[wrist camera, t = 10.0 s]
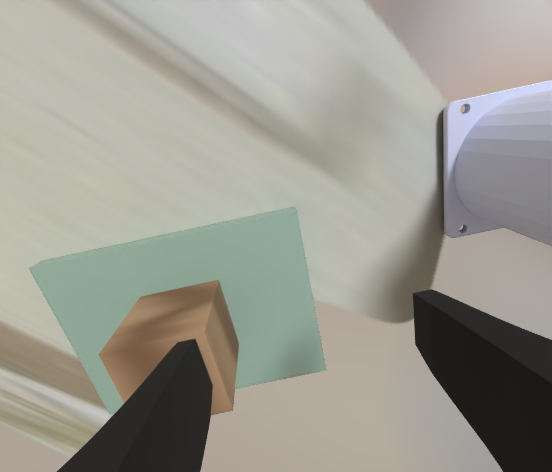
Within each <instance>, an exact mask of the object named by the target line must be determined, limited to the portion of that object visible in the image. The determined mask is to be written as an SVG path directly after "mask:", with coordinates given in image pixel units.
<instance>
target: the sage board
mask: <svg viewBox="0 0 552 472" xmlns="http://www.w3.org/2000/svg"><path fill="white" fill-rule="evenodd" d="M29 270H30V272H31V273H32V275H33V277H34V279H35V281H36V282H37V284H38V286H39V288H40V290H41V291H42V293H43V295H44V297H45V299H46V300H47V302H48V304H49V306H50V308H51V309H52V311H53V313H54V315H55V316H56V318H57V320H58V322H59V324H60V325H61V327H62V329H63V331H64V333H65V334H66V336H67V338H68V340H69V342H70V343H71V345H72V347H73V349H74V351H75V352H76V354H77V356H78V358H79V360H80V361H81V363H82V365H83V367H84V369H85V370H86V372H87V374H88V376H89V378H90V379H91V381H92V383H93V385H94V387H95V388H96V390H97V392H98V394H99V396H100V397H101V399H102V401H103V403H104V405H105V406H106V408H107V410H108V412H109V413H110V414H114V413H116V412H117V411H118V410H119V408H120V407H121V406H122V405H123V404H124V402H123V400H122V398H121V396H120V394H119V392H118V391H117V389H116V387H115V385H114V383H113V381H112V379H111V377H110V375H109V374H108V372H107V370H106V368H105V366H104V364H103V362H102V360H101V359H100V357H99V353H100V352H101V350H102V349H103V348H104V346H105V345H106V343H107V342H108V341H109V339H110V338H111V337H112V335H113V334H114V332H115V331H116V330H117V328H118V327H119V325H120V324H121V323H122V321H123V320H124V319H125V317H126V316H127V314H128V313H129V312H130V310H131V309H132V307H133V306H134V305H135V303H136V302H137V301H138V299H139V298H140V297H141V296H145V295H150V294H155V293H159V292H164V291H169V290H173V289H178V288H182V287H187V286H192V285H196V284H201V283H206V282H210V281H215V280H219V282H220V285H221V288H222V291H223V294H224V298H225V301H226V304H227V307H228V310H229V313H230V317H231V320H232V323H233V326H234V329H235V332H236V335H237V339H238V342H239V351H238V361H237V372H236V382H235V389H236V388H241V387H246V386H251V385H255V384H261V383H266V382H271V381H276V380H280V379H286V378H291V377H295V376H300V375H305V374H310V373H315V372H320V371H324V370H326V364H325V359H324V354H323V348H322V343H321V338H320V332H319V327H318V322H317V317H316V311H315V306H314V301H313V295H312V290H311V285H310V279H309V274H308V269H307V263H306V258H305V253H304V247H303V242H302V237H301V231H300V226H299V221H298V215H297V211H296V208H295V207H291V208H287V209H282V210H277V211H273V212H268V213H263V214H259V215H254V216H249V217H245V218H240V219H235V220H231V221H226V222H221V223H217V224H212V225H207V226H203V227H198V228H193V229H189V230H184V231H179V232H175V233H170V234H165V235H161V236H156V237H152V238H147V239H142V240H138V241H133V242H128V243H124V244H119V245H114V246H110V247H105V248H100V249H96V250H91V251H86V252H82V253H77V254H72V255H68V256H63V257H58V258H54V259H49V260H44V261H40V262H39V263H37V264H35V265H34V266H32V267H30V268H29Z"/></svg>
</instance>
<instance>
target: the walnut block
mask: <svg viewBox="0 0 552 472" xmlns="http://www.w3.org/2000/svg"><path fill="white" fill-rule="evenodd" d="M190 339H196V341H197V344H198V347H199V349H200V352H201V355H202V357H203V360H204V363H205V366H206V368H207V371H208V374H209V376H210V379H211V382H212V384H213V390H212V405H211V415H213V414H218V413H223V412H228V411H233V404H234V393H235V382H236V372H237V361H238V351H239V342H238V339H237V335H236V332H235V329H234V326H233V323H232V320H231V317H230V313H229V310H228V307H227V304H226V301H225V298H224V294H223V291H222V288H221V285H220V282H219V280H215V281H210V282H206V283H201V284H196V285H192V286H187V287H182V288H178V289H173V290H169V291H164V292H159V293H155V294H150V295H145V296H141V297H140V298H139V299H138V301H137V302H136V303H135V305H134V306H133V307H132V309H131V310H130V312H129V313H128V314H127V316H126V317H125V319H124V320H123V321H122V323H121V324H120V325H119V327H118V328H117V330H116V331H115V332H114V334H113V335H112V337H111V338H110V339H109V341H108V342H107V343H106V345H105V346H104V348H103V349H102V350H101V352H100V353H99V357H100V359H101V360H102V362H103V364H104V366H105V368H106V370H107V372H108V374H109V375H110V377H111V379H112V381H113V383H114V385H115V387H116V389H117V391H118V392H119V394H120V396H121V398H122V400H123V402H124V403H125V402H126V401H127V400H128V399H129V398H130V397H131V395H132V394H133V393H134V392H135V391H136V390H137V388H138V387H139V386H140V385H141V384H142V383H143V381H144V380H145V379H146V378H147V377H148V376H149V374H150V373H151V372H152V371H153V370H154V369H155V367H156V366H157V365H158V364H159V363H160V361H161V360H162V359H163V358H164V357H165V356H166V354H167V353H168V352H169V351H170V350H171V349H172V348H173V346H174V345H175V344H176V343H177V342H181V341H186V340H190Z"/></svg>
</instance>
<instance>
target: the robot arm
mask: <svg viewBox="0 0 552 472" xmlns="http://www.w3.org/2000/svg"><path fill="white" fill-rule="evenodd" d="M463 105H465V108H466V109H465V112H464V113H463V114H462V113H461V107H462V106H463ZM443 131H444V232H445V234H446V235H447V236H449V237H451V238H456V237H461V236H465V235H470V234H474V233H480V232H484V231H489V230H494V229H499V228H503V227H504V228H507V229H509V230H512V231H515V232H517V233H520V234H522V235H525V236H527V237H530V238H533V239H535V240H537V241H540V242H543V243H545V244H548V245H550V246H552V80H549V81H544V82H540V83H535V84H530V85H526V86H521V87H517V88H512V89H508V90H503V91H498V92H494V93H490V94H485V95H480V96H476V97H471V98H466V99H462V100H457V101H453V102H450V103H448V104H447V105H446V107H445V109H444V113H443ZM462 225H463V229H462V230H460V231H459V228H460V227H461V226H462ZM413 305H414V324H415V344H416V346H417V348H418V350H419V351H420V353H421V355H422V357H423V359H424V360H425V362H426V364H427V365H428V367H429V369H430V370H431V372H432V374H433V375H434V377H435V378H436V379H437V381H438V382H439V383H440V385H441V386H442V388H443V389H444V390H445V392H446V393H447V394H448V396H449V397H450V398H451V400H452V401H453V402H454V404H455V405H456V406H457V408H458V409H459V411H460V412H461V413H462V414H463V416H464V417H465V418H466V420H467V421H468V422H469V424H470V425H471V427H472V428H473V429H474V431H475V432H476V433H477V435H478V436H479V437H480V439H481V440H482V441H483V443H484V444H485V445H486V447H487V448H488V450H489V451H490V453H491V454H492V456H493V457H494V458H495V460H496V461H497V463H498V464H499V466H500V467H501V469H502V470H503V472H552V340H550V339H548V338H545V337H542V336H540V335H537V334H535V333H532V332H529V331H527V330H525V329H522V328H520V327H517V326H515V325H512V324H510V323H508V322H505V321H503V320H500V319H498V318H496V317H493V316H491V315H489V314H487V313H484V312H482V311H480V310H478V309H475V308H473V307H471V306H469V305H467V304H464V303H462V302H460V301H458V300H455V299H453V298H451V297H449V296H446V295H444V294H442V293H439V292H437V291H434V290H427V291H422V292H417V293H413ZM212 390H213V384H212V382H211V379H210V376H209V374H208V371H207V368H206V366H205V363H204V360H203V357H202V355H201V352H200V349H199V347H198V344H197V341H196V339H190V340H186V341H181V342H177V343H176V344H175V345H174V346H173V348H172V349H171V350H170V351H169V352H168V353H167V354H166V356H165V357H164V358H163V359H162V360H161V361H160V363H159V364H158V365H157V366H156V367H155V369H154V370H153V371H152V372H151V373H150V374H149V376H148V377H147V378H146V379H145V380H144V381H143V383H142V384H141V385H140V386H139V387H138V388H137V390H136V391H135V392H134V393H133V394H132V395H131V397H130V398H129V399H128V400H127V401H126V402H125V403H124V404H123V405H122V406H121V407H120V408H119V410H118V411H117V412H116V413H115V414H114V415H113V416H112V417H111V418H110V419H109V420H108V422H107V423H106V424H105V425H104V426H103V427H102V428H101V429H100V430H99V431H98V432H97V433H96V434H95V435H94V436H93V437H92V438H91V439H90V440H89V441H88V442H87V443H86V444H85V445H84V446H83V447H82V448H81V449H80V450H79V451H78V452H77V453H76V454H75V455H74V456H73V457H72V458H71V459H70V460H69V461H68V462H67V463H66V464H65V465H63V467H61V468H60V469H59V470H58V471H57V472H200V470H201V465H202V460H203V455H204V450H205V444H206V439H207V434H208V429H209V423H210V416H211V405H212Z"/></svg>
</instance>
